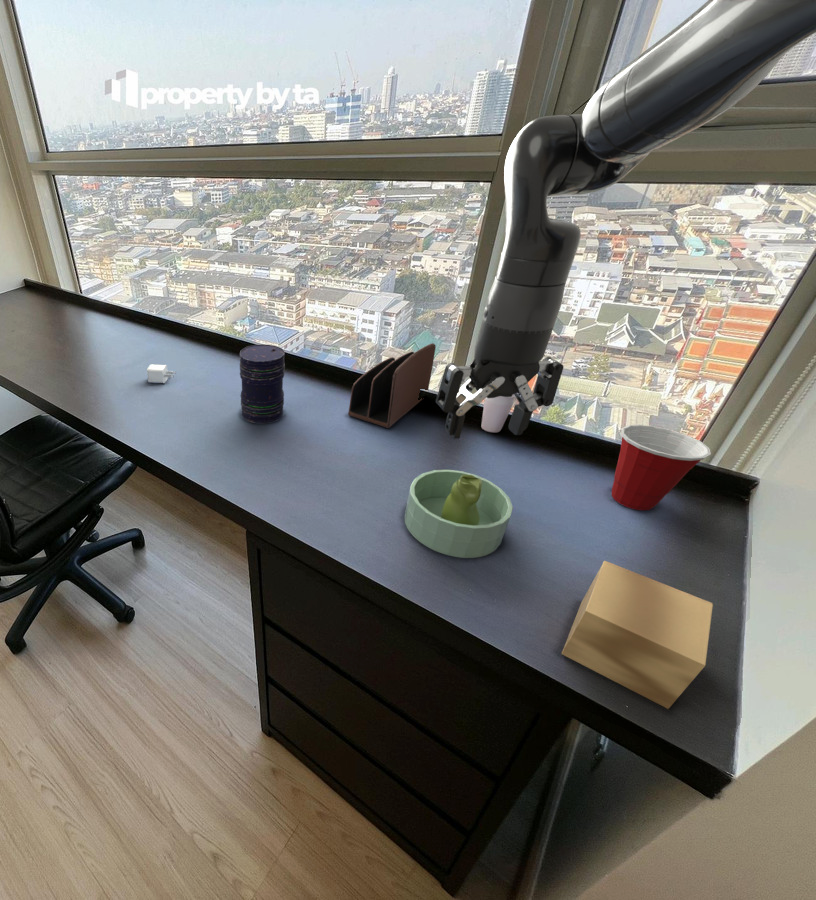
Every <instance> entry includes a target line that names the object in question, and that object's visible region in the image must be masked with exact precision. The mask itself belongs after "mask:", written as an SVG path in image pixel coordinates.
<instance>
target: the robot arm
mask: <svg viewBox="0 0 816 900" xmlns="http://www.w3.org/2000/svg"><path fill="white" fill-rule="evenodd" d="M814 34H816V0H706V1H705V2H704V3H703V4H702V5H701V6H700V7H699V8H698V9H696V10H695V11H694V12H693V13H692V14H690V15H689V16H688V17H687V18H686V19H684V20H683V21H682V22H681V23H679V24H678V25H677V26H676V27H674V28H673V29H672V30H671V31H669V32H668V33H667V34H665V35H664V36H663V37H662V38H660V39H658V40H657V41H656V42H655V43H654V44H653V45H651V46H650V47H648V48H647V49H646V50H645V51H643V52H642V53H640V54H639V55H638V56H637V57H635V58H634V59H633V60H631V61H630V62H629V63H628V64H626V65H625V66H624V67H623V68H621V69H620V70H618V72H616V73H615V74H614V75H612V77H610V78H609V79H608V80H606V81H605V83H603V85H601V86H600V87H599V88H598V90H596V91H595V93H594V94H593V95H592V96H591V97H590V98H589V101H588V102H587V103H586V106H585V108H584V110H583V112H582V113H575V114H573V113H571V114H556V115H555V114H554V115H545V116H541V117H536V118H534V119H533V120H531V121H529V122H528V123H527V124H526V125H524V126H523V127H522V128H521V130H519V132H518V133H517V134H516V137H515V138H514V139H513V140H512V143H511V145H510V147H509V149H508V151H507V154H506V158H505V162H504V170H503V171H504V172H503V174H504V176H503V181H504V202H505V203H504V205H505V211H504V213H505V214H504V216H505V218H504V220H505V221H504V241H503V246H502V249H501V253H500V256H499V260H498V264H497V265H498V266H497V269H496V273H495V277H494V279H493V283H492V285H491V287H490V290H489V293H488V295H487V298H486V301H485V305H484V309H483V313H482V314H483V315H482V317H481V322H480V326H479V330H478V333H477V336H476V342H475V346H474V355H473V356H474V357H473V359H472V361H471V363H469V365H456V364H455V363H454V362H449V363H447V364H446V365H445V367H444V372H443V374H442V378H441V381H440V384H439V388H438V392H437V395H436V399H435V403H436V405H438V407H440V409H441V410H442V411H443V412H444V413H446V414H447V416H446V419H445V424H444V430H445V431H446V433H447V434H448V435H449V436H450V438H451V439H453V440H454V439H455V440H457V439H460V437H461V434H462V431H463V426H464V423H465V418H466V413H467V412H468V411H469V410H471V409H472V408H473V407H474V406H478V405H479V404H481V403H482V402H483V401H485V398H486V397H487V398H495V397H499V396H502V397H512V395H513V394H514V395H515V397H516V400H517V402H518V403H517V404H514V406H513V411H512V413H511V417H510V419H509V422H508V430H509V431H510V432H511V433H512V434H513V435H515V436H520V435H523V432H524V431H526V430H527V428H528V426H529V424H530V421H531V418H532V416H533V412H535V411H536V410H537V409H538V408H539V407H543V406H544V407H550V406H551V405H552V404H553V403H554V400H555V397H556V393H557V390H558V387H559V383H560V380H561V377H562V375H563V372H564V371H563V370H564V368H565V367H564V365H563V364H562V363H560V361H558V360H557V359H555V358H552V357H551V356H545V353H546V351H547V348H548V344H549V342H550V339H551V336H552V333H553V330H554V327H555V325H556V321H557V318H558V316H559V313H560V309H561V306H562V303H563V300H564V293H565V290H566V283H567V281H568V277H569V275H570V272H571V269H572V266H573V263H574V260H575V257H576V254H577V252H578V248H579V245H580V242H581V237H582V236H581V233H582V232H581V228H580V227H579V226H578V225H577V224H575V223H573V222H570V221H565V220H562V219H557V218H550V217H549V212H548V207H547V205H548V204H547V200H548V197H560V196H581V195H588V194H592V193H593V194H594V193H596V192H599V191H602V190H604V189H605V190H606V189H607V188H609V187H611V186H614V185H615V184H616V183H618V182H620V181H621V180H623V178H625V177H626V176H627V175H628V174H629V173H630V172H631V171H632V170H633V169H634V168H636V167H637V166H638V165H639V164H640V163H641V162H643V161H644V159H646V158H647V157H648V155H649V154H650V153H652V152H654V151H656V150H658V149H660V148H662V147H664V146H666V145H667V144H670V143H672V142H674V141H676V140H678V139H679V138H682V137H683V136H685V135H687V134H689V133H692V132H693V131H694V130H697V129H698V128H701V127H702V126H704V125H706V124H708V123H709V122H711V121H713V120H714V119H716V118H718V116H720V115H723V114H724V113H725V112H727V111H728V110H730V109H731V108H732V107H734V106H735V105H737V104H739V102H741V101H742V100H743V99H744V98H745V97H747V96H748V95H749V94H750V93H751V92H752V91H753V90H754V89H755V88H756V87H758V85H759V84H760V83H761V82H762V81H763V80H764V79H765V78H766V77H767V76H768V75H769V74H770V72H771V71H772V70H774V68H775V67H776V65H778V63H779V62H780V61H781V59H782V58H783V57H785V55H786V54H787V53H788V52H789V51H791V50H792V49H793V48H795V47H796V46H797V45H799V44H800V43H802V42H803V41H805V40H807V39H808V38H810V37H811V36H813V35H814ZM544 356H545V357H544ZM468 377H469V378H468ZM535 377H537V378H536V381H535V385H534V388H533V391H532V388H531V387H530V384H529V382H530V381H531V380H532V379H534V378H535ZM466 378H468V380H467V381H466V382H465V380H466ZM461 385H462V386H461ZM474 389H475V390H476V392H475V393H473V390H474Z"/></svg>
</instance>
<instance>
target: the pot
mask: <svg viewBox="0 0 816 900" xmlns="http://www.w3.org/2000/svg"><path fill="white" fill-rule="evenodd" d="M462 475H472V476H474V477H476V478H478V479H481V480H482V489H481V494H480V498H479V500H478V502H477V503H476V506H477V510H478V513H479V517H480V520H479V524H478V525H474V526H472V525H465V524H458V523H454V522H451V521H448V520H445V519H442V518H441V513H442V509H443V506H444V503H445V501H446V499H447V497H448V496H449V494H450V493H451V489H452V486H453V484H454V483H455V482H456V481H457V480H458V479H460V478H461V476H462ZM407 495H408V496H407V501H406V506H405V510H404V523H405V526H406V528H407V530H408V532H409V533H410V534H411V535H412V537H414V539H415V540H417V541H418V542H419V543H420V544H422V545H423V546H425V547H427V548H428V549H430V550H433V551H434V552H437V553H439V554H442V555H446V556H449V557H453V558H460V559H462V558H463V559H474V558H475V559H476V558H482V557H486V556H488V555H490V554H492V553H494V552H495V551H496V550H497V549H498V548H499V546H500V545H501V544H502V540H503V539H504V536H505V533H506V531H507V528H508V525H509V522H510V519H511V516H512V513H513V509H514V508H513V507H514V506H513V504H512V501H511V498H510V497H509V495H507V493H506V492H505V491H504V490H503V489H502V488H501V487H499V486H498V485H496V484H495V483H494V482H492V481H490V480H488V479H486V478H484V477H482V476H479V475H477V474H475V473H470V472H466V471H462V470H453V469H434V470H430V471H426V472H423V473H420V474H419V475H418V476H416V477H415V478H414V479H413V481H412V483H411V484H410V487H409V491H408V494H407Z"/></svg>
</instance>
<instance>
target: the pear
mask: <svg viewBox="0 0 816 900" xmlns="http://www.w3.org/2000/svg"><path fill="white" fill-rule="evenodd" d="M481 489H482V480H481V479H478V478H476V477H474V476H472V475H462V476H461V478H460V479H458V480H457V481H456V482H455V483H454V484H453V486H452V489H451V493H450V494H449V496H448V497H447V499H446V501H445V503H444V506H443V509H442V513H441V518H442V519H445V520H448V521H451V522H454V523H458V524H465V525H472V526H474V525H478V524H479V520H480V517H479V513H478V510H477V506H476V503H477V502H478V500H479V498H480V494H481Z"/></svg>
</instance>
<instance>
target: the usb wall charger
mask: <svg viewBox="0 0 816 900" xmlns="http://www.w3.org/2000/svg"><path fill="white" fill-rule="evenodd" d="M176 372H177V371H173V370H168V365H167V364H149V366H148V367H147V369H146V375H147V382H148V383H153V384H166V382H167V380H168V378H174V375H176Z"/></svg>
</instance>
